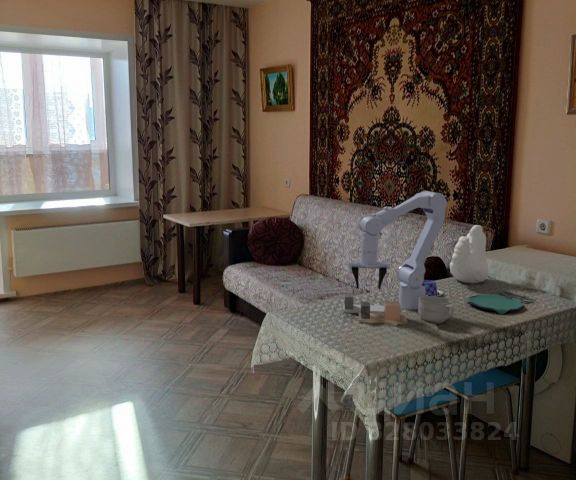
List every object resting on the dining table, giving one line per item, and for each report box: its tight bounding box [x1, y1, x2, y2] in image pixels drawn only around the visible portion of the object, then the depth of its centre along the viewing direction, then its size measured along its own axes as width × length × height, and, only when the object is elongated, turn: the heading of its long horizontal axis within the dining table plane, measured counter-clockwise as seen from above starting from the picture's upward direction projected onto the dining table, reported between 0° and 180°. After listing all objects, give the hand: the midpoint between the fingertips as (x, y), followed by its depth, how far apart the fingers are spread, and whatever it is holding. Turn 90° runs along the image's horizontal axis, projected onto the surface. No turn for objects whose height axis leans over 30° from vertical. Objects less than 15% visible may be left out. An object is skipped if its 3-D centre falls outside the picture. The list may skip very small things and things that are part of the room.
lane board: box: [343, 313, 398, 326], centre depth 203 cm, size 18×20×1 cm
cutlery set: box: [466, 290, 537, 315], centre depth 222 cm, size 20×30×2 cm, turn 127°
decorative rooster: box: [449, 224, 489, 284], centre depth 251 cm, size 25×16×25 cm, turn 126°
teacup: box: [417, 295, 455, 325], centre depth 198 cm, size 14×11×8 cm
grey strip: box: [342, 292, 384, 314], centre depth 208 cm, size 16×7×5 cm, turn 84°
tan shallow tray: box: [358, 301, 409, 325], centre depth 197 cm, size 16×7×5 cm, turn 84°
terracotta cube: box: [383, 300, 401, 320], centre depth 197 cm, size 5×5×5 cm
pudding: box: [420, 279, 444, 297], centre depth 235 cm, size 12×12×5 cm
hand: (368, 288), depth 207 cm, fingers open, 7 cm apart
